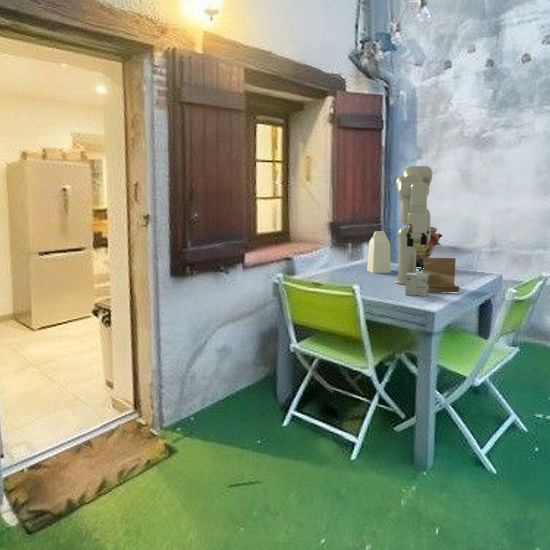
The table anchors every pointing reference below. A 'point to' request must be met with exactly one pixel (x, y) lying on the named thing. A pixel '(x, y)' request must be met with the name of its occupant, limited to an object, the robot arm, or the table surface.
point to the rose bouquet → (426, 248)
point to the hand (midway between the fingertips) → (416, 245)
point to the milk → (379, 254)
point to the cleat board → (440, 274)
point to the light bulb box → (417, 284)
